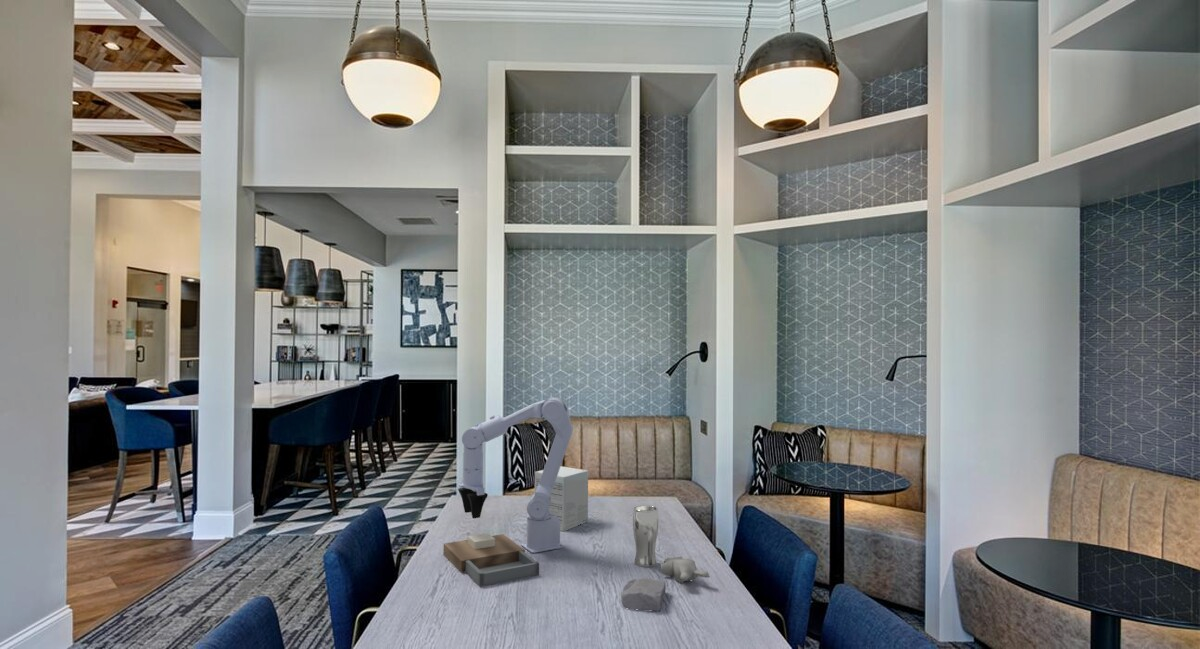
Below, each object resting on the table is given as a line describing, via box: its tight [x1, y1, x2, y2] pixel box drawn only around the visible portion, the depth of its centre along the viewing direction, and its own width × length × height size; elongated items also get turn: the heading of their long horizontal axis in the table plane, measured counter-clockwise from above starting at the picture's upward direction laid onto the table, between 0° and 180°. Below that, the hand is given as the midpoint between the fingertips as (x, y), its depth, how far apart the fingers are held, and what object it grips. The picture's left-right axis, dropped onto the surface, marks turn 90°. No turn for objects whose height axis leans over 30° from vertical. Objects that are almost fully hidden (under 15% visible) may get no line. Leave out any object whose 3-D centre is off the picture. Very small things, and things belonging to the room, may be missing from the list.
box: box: [464, 551, 540, 587], centre depth 159 cm, size 16×11×3 cm
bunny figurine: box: [660, 556, 711, 583], centre depth 157 cm, size 10×5×15 cm
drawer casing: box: [442, 534, 526, 573], centre depth 171 cm, size 18×16×3 cm
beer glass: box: [632, 504, 659, 568], centre depth 168 cm, size 7×7×15 cm
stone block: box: [620, 577, 666, 612], centre depth 144 cm, size 12×5×10 cm
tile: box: [467, 532, 495, 549], centre depth 173 cm, size 6×6×2 cm
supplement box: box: [534, 465, 589, 532], centre depth 205 cm, size 13×13×18 cm
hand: (472, 514), depth 180 cm, fingers open, 6 cm apart
